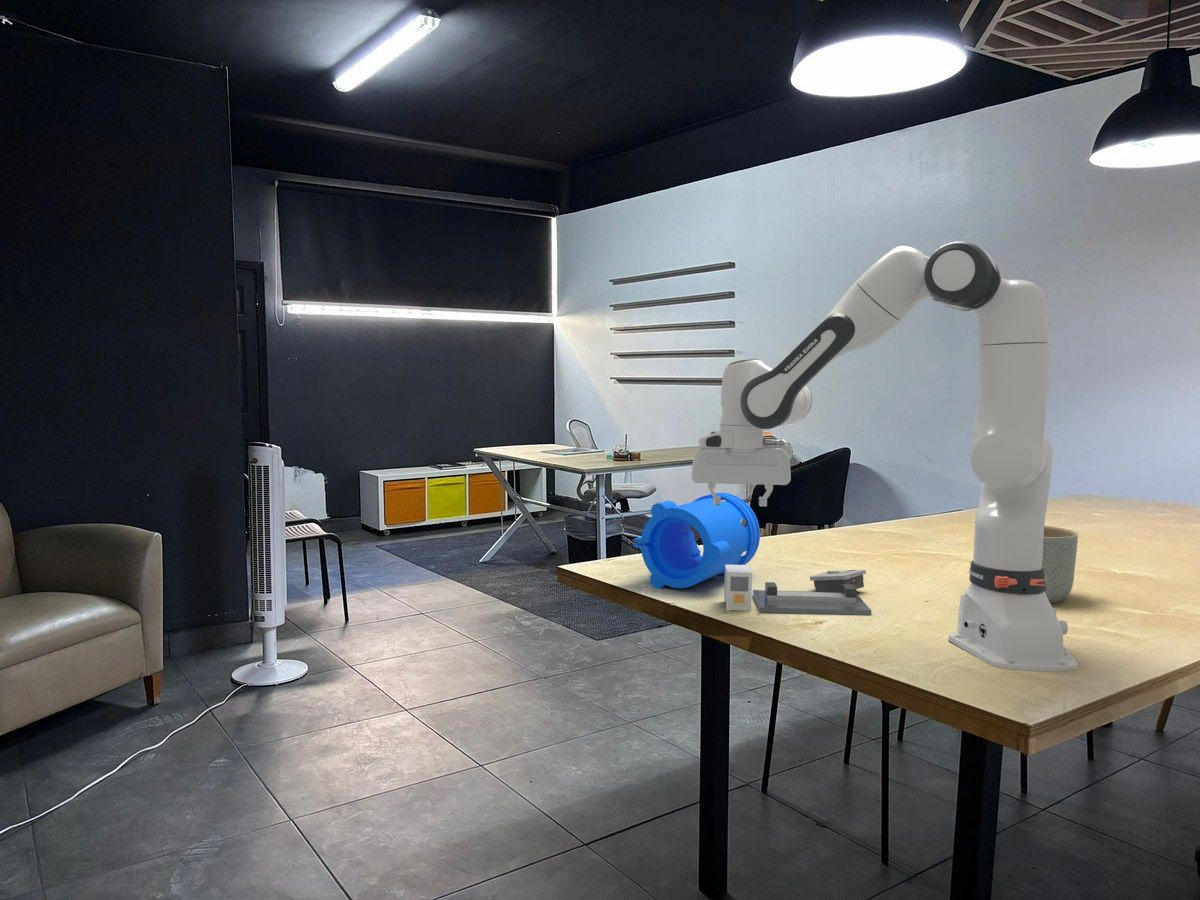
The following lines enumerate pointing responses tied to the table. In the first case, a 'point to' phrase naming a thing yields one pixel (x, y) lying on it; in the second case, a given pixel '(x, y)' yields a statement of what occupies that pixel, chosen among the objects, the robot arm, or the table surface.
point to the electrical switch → (837, 580)
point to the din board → (810, 601)
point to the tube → (676, 549)
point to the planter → (1059, 561)
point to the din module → (738, 587)
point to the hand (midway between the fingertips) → (739, 505)
